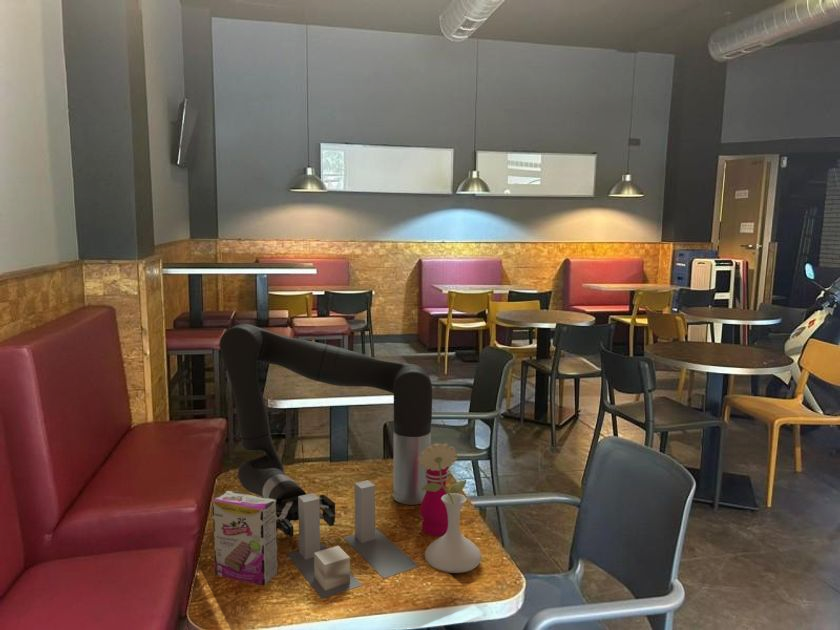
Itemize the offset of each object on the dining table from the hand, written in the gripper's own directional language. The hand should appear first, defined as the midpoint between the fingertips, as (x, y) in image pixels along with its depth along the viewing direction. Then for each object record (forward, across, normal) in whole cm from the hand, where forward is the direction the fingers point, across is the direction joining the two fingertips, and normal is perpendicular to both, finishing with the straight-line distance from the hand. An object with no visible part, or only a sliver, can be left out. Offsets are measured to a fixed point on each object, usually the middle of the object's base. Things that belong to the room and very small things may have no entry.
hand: (312, 526), depth 122 cm
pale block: (+9, 0, +7) cm, 11 cm away
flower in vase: (+14, +24, +8) cm, 28 cm away
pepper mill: (+1, +29, +8) cm, 30 cm away
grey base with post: (+5, +12, +8) cm, 16 cm away
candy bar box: (-1, -13, +8) cm, 15 cm away
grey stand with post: (+5, 0, +8) cm, 9 cm away
